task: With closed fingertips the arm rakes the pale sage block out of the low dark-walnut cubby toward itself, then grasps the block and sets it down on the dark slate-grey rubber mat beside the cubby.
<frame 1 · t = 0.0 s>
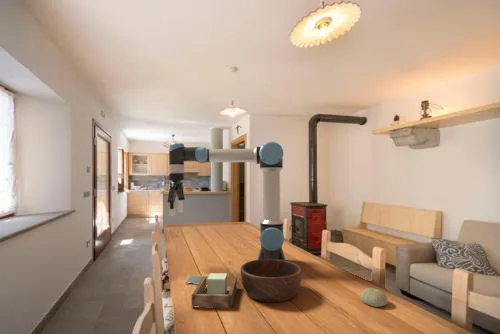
hand: (176, 213, 150), 28 cm above the table, fingers open, 13 cm apart
wooden bowl: (271, 293, 118), on the table
sea urchin shell: (373, 303, 108), on the table
sage block: (217, 293, 117), on the table
slate mat: (198, 280, 131), on the table
walnut cubby: (216, 296, 114), on the table
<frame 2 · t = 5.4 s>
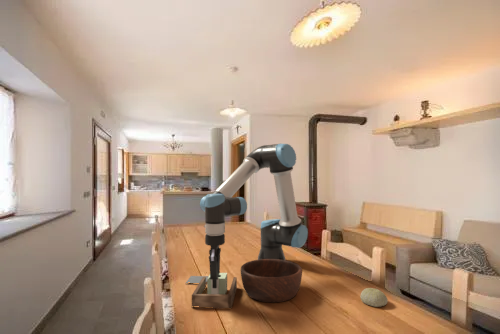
hand: (215, 295, 111), 2 cm above the table, fingers closed
sage block: (217, 293, 117), on the table, touching gripper
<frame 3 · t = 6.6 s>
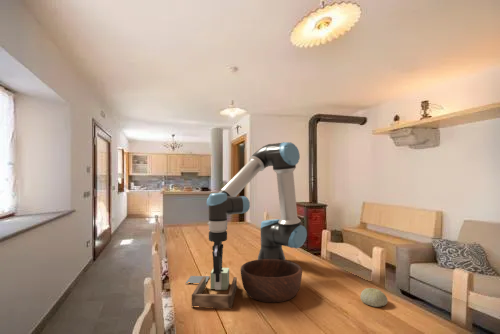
hand: (218, 288, 118), 2 cm above the table, fingers closed
sage block: (220, 286, 124), on the table, touching gripper
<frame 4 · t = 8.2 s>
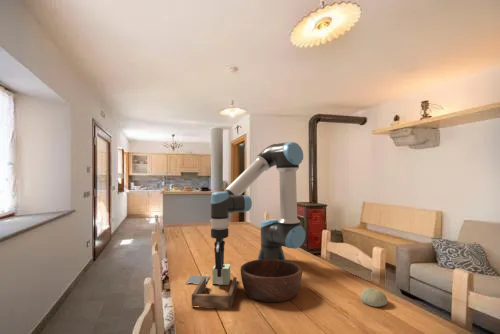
hand: (219, 283, 123), 2 cm above the table, fingers closed
sage block: (221, 282, 129), on the table, touching gripper
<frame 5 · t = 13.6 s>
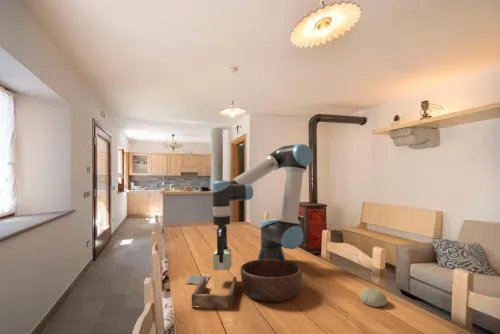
hand: (222, 266, 129), 7 cm above the table, fingers closed on sage block, 7 cm apart
sage block: (222, 267, 129), point 7 cm above the table, touching gripper
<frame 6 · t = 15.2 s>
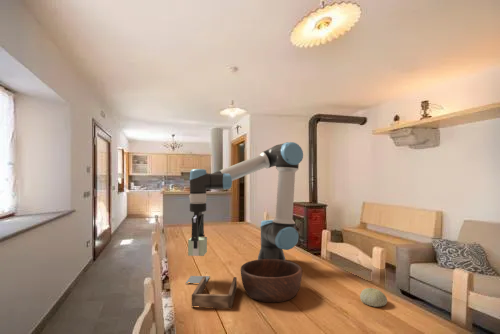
hand: (197, 253, 132), 12 cm above the table, fingers closed on sage block, 7 cm apart
sage block: (197, 253, 132), point 12 cm above the table, touching gripper
when the fingers open (2 cm above the table, at t = 17.3 s): sage block drops 1 cm, resting on slate mat.
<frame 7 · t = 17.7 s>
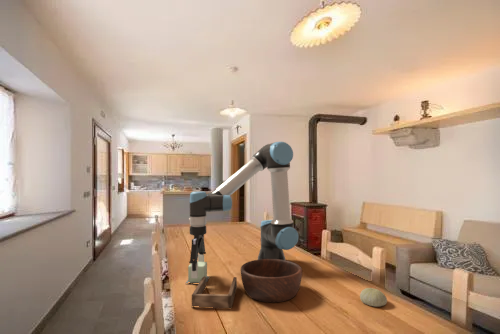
hand: (198, 273, 131), 3 cm above the table, fingers open, 12 cm apart
sage block: (197, 279, 131), resting on slate mat
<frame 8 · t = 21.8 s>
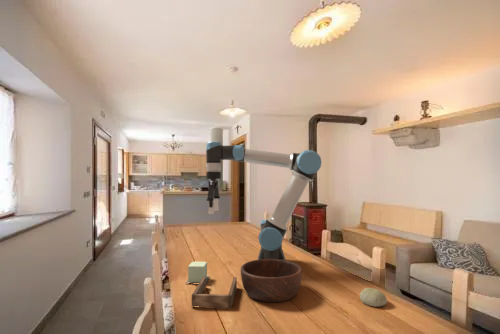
hand: (213, 212, 150), 29 cm above the table, fingers open, 13 cm apart
at the end: sage block inside the target area on the slate mat (0.1 cm from its centre), point 0.5 cm above the slate mat's base; sage block tilted 0°; the gripper is holding nothing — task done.
